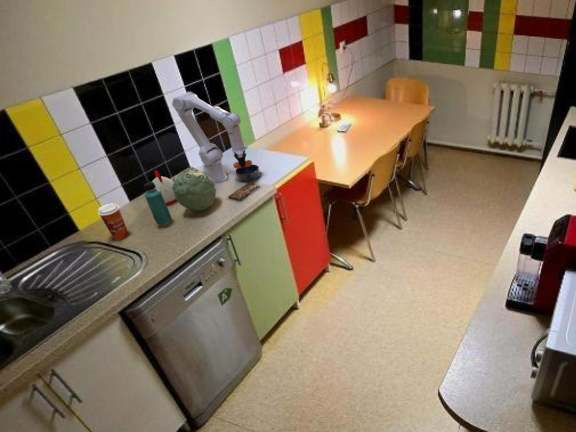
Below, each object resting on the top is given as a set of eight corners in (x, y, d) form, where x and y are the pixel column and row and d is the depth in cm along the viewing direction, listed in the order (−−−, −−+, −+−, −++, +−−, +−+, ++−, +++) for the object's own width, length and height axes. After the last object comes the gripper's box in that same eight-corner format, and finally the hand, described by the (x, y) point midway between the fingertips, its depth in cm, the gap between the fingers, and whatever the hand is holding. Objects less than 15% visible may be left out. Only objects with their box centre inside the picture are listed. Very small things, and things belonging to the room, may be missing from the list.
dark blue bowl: (237, 184, 210) (235, 176, 208) (236, 174, 220) (234, 167, 217) (261, 179, 213) (260, 171, 211) (259, 169, 223) (257, 162, 220)
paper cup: (117, 243, 171) (103, 214, 164) (107, 238, 175) (92, 209, 167) (135, 233, 177) (122, 205, 169) (125, 228, 180) (112, 200, 173)
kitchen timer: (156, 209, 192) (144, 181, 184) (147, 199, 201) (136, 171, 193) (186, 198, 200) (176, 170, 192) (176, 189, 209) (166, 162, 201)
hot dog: (234, 170, 204) (232, 164, 202) (233, 167, 206) (232, 162, 205) (253, 166, 206) (251, 160, 205) (252, 163, 209) (251, 158, 207)
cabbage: (227, 198, 198) (215, 160, 187) (207, 220, 182) (193, 180, 171) (196, 197, 200) (183, 159, 189) (174, 219, 185) (158, 179, 174)
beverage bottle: (176, 221, 183) (161, 180, 172) (165, 229, 178) (148, 188, 167) (165, 219, 185) (148, 178, 174) (153, 227, 180) (136, 186, 169)
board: (240, 200, 195) (239, 198, 195) (228, 198, 198) (228, 196, 197) (259, 187, 206) (259, 185, 205) (248, 185, 208) (247, 182, 208)
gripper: (246, 143, 194) (252, 169, 201) (243, 133, 205) (250, 158, 213) (230, 146, 192) (237, 172, 199) (228, 135, 204) (235, 161, 211)
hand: (243, 165), depth 206 cm, fingers closed on hot dog, 3 cm apart
